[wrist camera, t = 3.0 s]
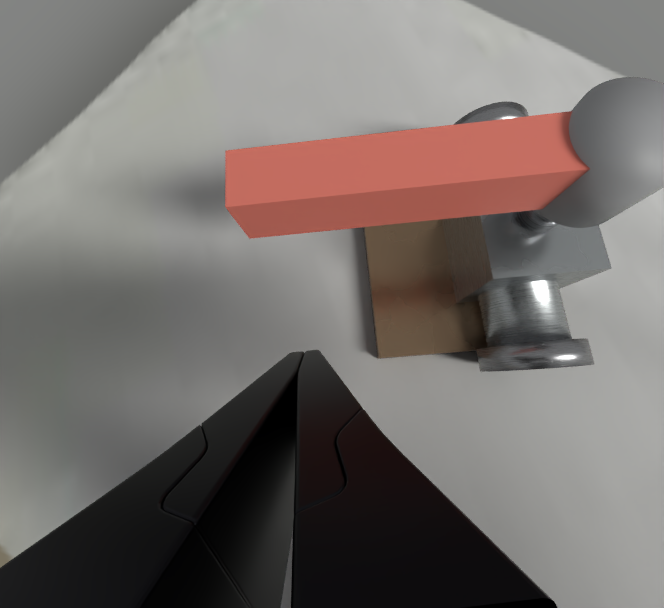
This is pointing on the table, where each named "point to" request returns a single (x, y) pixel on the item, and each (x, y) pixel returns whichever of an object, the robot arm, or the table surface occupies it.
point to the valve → (481, 283)
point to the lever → (461, 169)
